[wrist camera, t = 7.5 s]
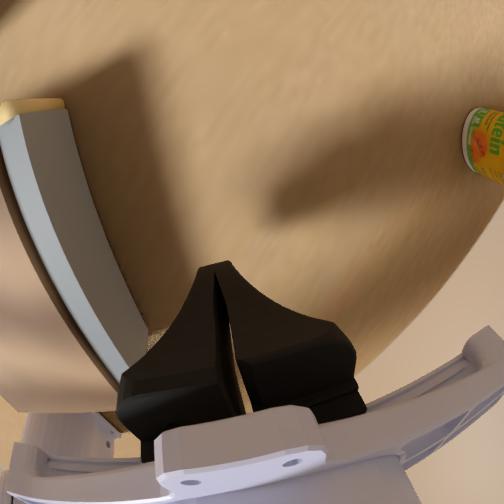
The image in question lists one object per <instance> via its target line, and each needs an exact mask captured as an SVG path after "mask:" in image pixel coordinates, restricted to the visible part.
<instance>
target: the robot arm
mask: <svg viewBox="0 0 504 504" xmlns="http://www.w3.org/2000/svg"><path fill="white" fill-rule="evenodd" d="M229 323H230V326H231V332H232V338H233V344H234V351H235V358H236V361H237V364H238V367H239V370H240V373H241V376H242V379H243V382H244V385H245V388H246V390H247V393H248V396H249V399H250V402H251V405H252V409H253V413H249V414H246V411H245V408H244V404H243V400H242V396H241V392H240V388H239V384H238V380H237V376H236V372H235V366H234V359H233V351H232V343H231V334H230V326H229ZM355 365H356V350H355V349H354V347H353V345H352V343H351V342H350V340H349V339H348V338H347V336H346V335H345V334H344V333H343V332H342V331H341V330H340V329H339V327H338V326H337V325H336V324H335V323H333V322H329V321H325V320H320V319H316V318H312V317H309V316H306V315H303V314H300V313H297V312H294V311H292V310H290V309H288V308H286V307H283V306H281V305H280V304H278V303H276V302H274V301H273V300H271V299H269V298H268V297H266V296H265V295H263V294H262V293H261V292H259V291H258V290H257V289H256V288H254V287H253V286H252V285H251V284H250V283H249V282H248V281H247V280H245V279H244V278H243V277H242V276H241V275H240V273H239V272H238V271H237V270H236V269H235V267H234V266H233V265H232V263H231V262H230V261H228V260H227V261H223V262H219V263H215V264H211V265H207V266H203V267H200V268H199V269H198V271H197V274H196V277H195V280H194V283H193V285H192V288H191V290H190V292H189V294H188V297H187V299H186V301H185V303H184V304H183V306H182V308H181V310H180V312H179V314H178V315H177V317H176V319H175V320H174V322H173V323H172V325H171V326H170V328H169V329H168V330H167V331H166V332H165V334H164V335H163V336H162V337H161V339H160V340H159V341H158V342H157V343H156V344H155V345H154V346H153V347H152V348H151V349H150V350H149V351H148V352H147V353H146V354H145V355H144V356H143V357H142V358H141V359H140V360H138V361H137V362H136V363H135V364H134V365H132V366H131V367H130V368H129V369H127V370H126V371H125V372H123V373H122V375H121V379H120V383H119V388H118V395H117V404H116V414H117V418H118V419H119V420H120V422H121V423H122V424H123V425H124V426H125V427H126V428H127V429H128V430H129V431H131V432H132V433H133V434H134V435H135V436H136V437H137V438H138V439H139V440H140V441H141V457H140V458H113V454H114V438H121V435H122V434H121V433H120V432H119V431H117V430H116V429H115V428H114V427H113V426H112V425H111V424H110V423H109V422H108V421H107V420H106V419H105V418H104V417H102V416H101V415H100V414H99V413H98V412H86V413H28V414H27V418H26V422H25V426H24V430H23V434H22V438H21V443H20V442H14V446H13V451H12V456H11V461H10V467H9V470H6V471H5V472H1V474H0V504H421V502H420V500H419V498H418V496H417V494H416V492H415V490H414V488H413V486H412V484H411V482H410V480H409V478H408V476H407V474H406V472H405V470H407V469H408V468H410V467H412V466H413V465H415V464H417V463H418V462H420V461H421V460H423V459H424V458H426V457H427V456H429V455H430V454H432V453H433V452H435V451H436V450H438V449H439V448H441V447H442V446H443V445H445V444H446V443H448V442H449V441H450V440H452V439H453V438H454V437H456V436H457V435H458V434H460V433H461V432H462V431H463V430H465V429H466V428H467V427H468V426H470V425H471V424H472V423H474V422H475V421H476V420H477V419H478V418H480V417H481V416H482V415H483V414H484V413H486V412H487V411H488V410H489V409H490V408H491V407H493V406H494V405H495V404H496V403H497V402H498V401H499V400H500V398H501V397H502V396H503V395H504V340H503V339H502V338H501V337H500V336H499V335H498V334H497V333H496V332H495V331H494V330H493V329H492V328H491V327H490V326H486V327H484V328H483V329H481V330H480V331H479V332H477V333H476V334H474V335H473V336H472V337H470V338H469V340H468V341H467V342H466V344H465V345H464V348H463V350H462V353H461V354H460V355H458V356H457V357H455V358H454V359H452V360H450V361H449V362H447V363H445V364H444V365H442V366H441V367H439V368H437V369H435V370H433V371H432V372H430V373H428V374H426V375H425V376H423V377H421V378H419V379H417V380H415V381H414V382H412V383H410V384H408V385H406V386H404V387H402V388H400V389H398V390H396V391H394V392H392V393H390V394H387V395H386V396H383V397H381V398H379V399H377V400H375V401H372V402H370V403H368V404H365V403H364V401H363V399H362V398H361V396H360V394H359V392H358V388H359V387H358V384H357V382H356V380H355V379H354V372H355Z"/></svg>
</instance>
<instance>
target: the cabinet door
mask: <svg viewBox="0 0 504 504" xmlns="http://www.w3.org/2000/svg"><path fill="white" fill-rule="evenodd" d="M0 146H1V150H2V154H3V158H4V162H5V165H6V169H7V172H8V175H9V179H10V182H11V185H12V188H13V191H14V194H15V197H16V200H17V202H18V205H19V208H20V211H21V213H22V216H23V218H24V221H25V224H26V226H27V228H28V231H29V233H30V236H31V238H32V240H33V242H34V245H35V247H36V249H37V251H38V253H39V256H40V258H41V260H42V262H43V264H44V266H45V268H46V270H47V272H48V274H49V276H50V278H51V280H52V282H53V284H54V285H55V287H56V289H57V291H58V293H59V295H60V296H61V298H62V300H63V302H64V303H65V305H66V307H67V309H68V310H69V312H70V314H71V315H72V317H73V319H74V320H75V322H76V323H77V325H78V327H79V328H80V330H81V331H82V333H83V334H84V336H85V337H86V339H87V340H88V342H89V343H90V345H91V346H92V348H93V349H94V351H95V352H96V354H97V355H98V356H99V358H100V359H101V361H102V362H103V363H104V365H105V366H106V367H107V369H108V370H109V371H110V373H111V374H112V375H113V377H114V378H115V379H116V381H117V382H118V383H120V379H121V375H122V373H123V372H125V371H126V370H127V369H129V368H130V367H131V366H132V365H134V364H135V363H136V362H137V361H138V360H140V359H141V358H142V357H143V356H144V355H145V354H146V353H147V343H148V332H149V330H148V328H147V326H146V324H145V322H144V320H143V318H142V316H141V314H140V312H139V310H138V308H137V306H136V304H135V302H134V300H133V298H132V296H131V294H130V292H129V289H128V287H127V285H126V283H125V281H124V278H123V276H122V274H121V272H120V269H119V267H118V265H117V262H116V260H115V258H114V255H113V253H112V250H111V248H110V245H109V243H108V240H107V238H106V235H105V233H104V230H103V227H102V225H101V222H100V219H99V217H98V214H97V211H96V208H95V205H94V202H93V199H92V196H91V193H90V190H89V187H88V184H87V181H86V178H85V175H84V171H83V168H82V164H81V161H80V157H79V154H78V150H77V147H76V143H75V139H74V135H73V131H72V127H71V122H70V118H69V114H68V109H65V103H64V101H63V100H62V99H60V98H38V99H18V100H6V101H4V102H3V103H2V104H1V105H0Z"/></svg>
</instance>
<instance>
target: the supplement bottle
mask: <svg viewBox="0 0 504 504" xmlns="http://www.w3.org/2000/svg"><path fill="white" fill-rule="evenodd" d="M462 149H463V154H464V158H465V161H466V163H467V164H468V166H469V167H470V168H471V169H472V170H473V171H474V172H476V173H478V174H480V175H483V176H485V177H487V178H489V179H491V180H494V181H496V182H498V183H500V184H502V185H504V113H503V112H499V111H495V110H491V109H487V108H476V109H474V110H472V111H471V112H470V114H469V115H468V116H467V118H466V121H465V124H464V128H463V133H462Z"/></svg>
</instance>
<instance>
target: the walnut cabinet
mask: <svg viewBox="0 0 504 504" xmlns="http://www.w3.org/2000/svg"><path fill="white" fill-rule="evenodd" d="M118 388H119V383H118V382H117V381H116V379H115V378H114V377H113V375H112V374H111V373H110V371H109V370H108V369H107V367H106V366H105V365H104V363H103V362H102V361H101V359H100V358H99V356H98V355H97V354H96V352H95V351H94V349H93V348H92V346H91V345H90V343H89V342H88V340H87V339H86V337H85V336H84V334H83V333H82V331H81V330H80V328H79V327H78V325H77V323H76V322H75V320H74V319H73V317H72V315H71V314H70V312H69V310H68V309H67V307H66V305H65V303H64V302H63V300H62V298H61V296H60V295H59V293H58V291H57V289H56V287H55V285H54V284H53V282H52V280H51V278H50V276H49V274H48V272H47V270H46V268H45V266H44V264H43V262H42V260H41V258H40V256H39V253H38V251H37V249H36V247H35V245H34V242H33V240H32V238H31V236H30V233H29V231H28V228H27V226H26V224H25V221H24V218H23V216H22V213H21V211H20V208H19V205H18V202H17V200H16V197H15V194H14V191H13V188H12V185H11V182H10V179H9V175H8V172H7V169H6V165H5V162H4V158H3V154H2V150H1V146H0V395H1V396H2V397H3V398H4V399H5V400H6V401H7V402H8V403H9V404H10V405H11V406H12V407H13V408H14V409H16V410H17V411H18V412H28V413H86V412H105V411H116V404H117V395H118Z"/></svg>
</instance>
